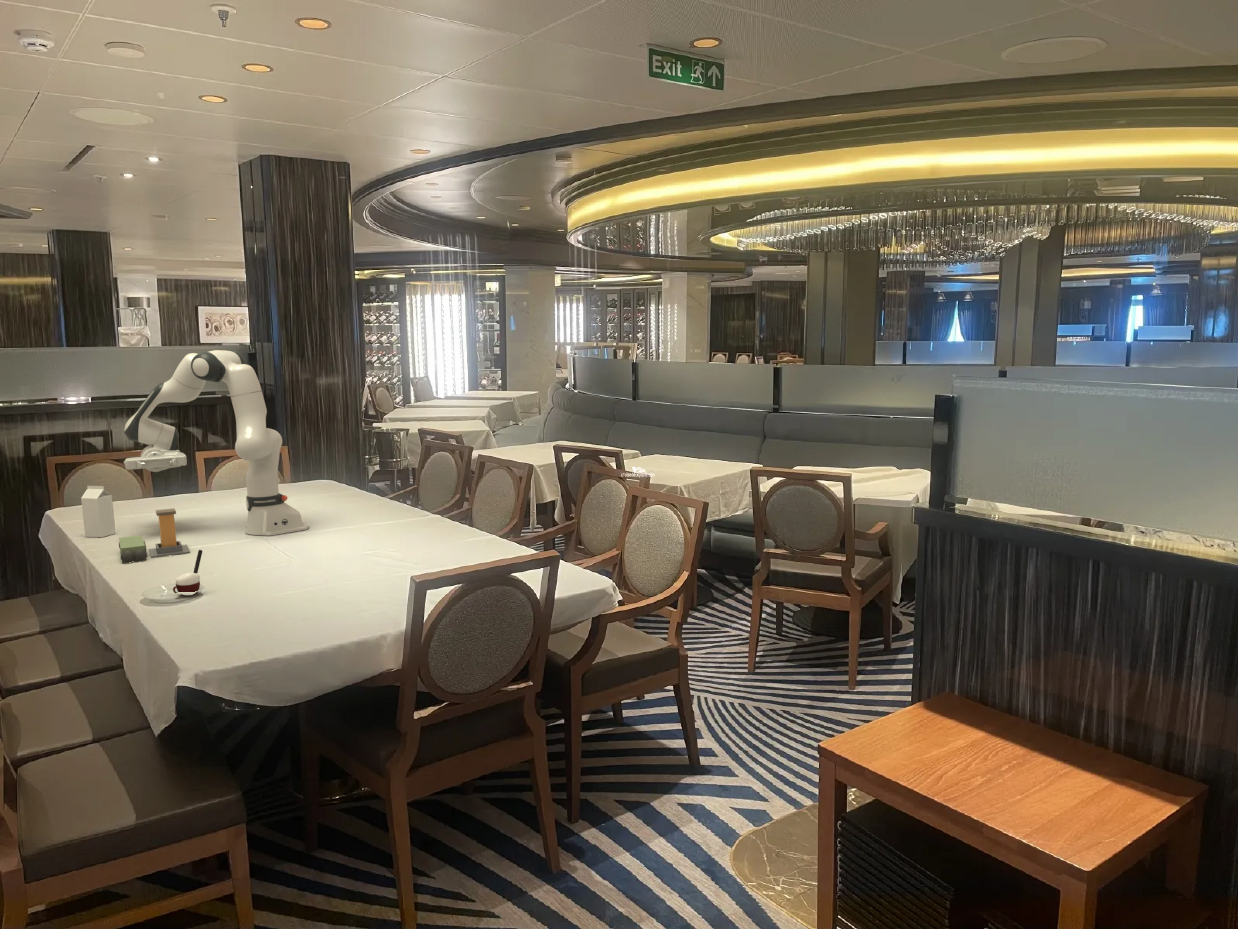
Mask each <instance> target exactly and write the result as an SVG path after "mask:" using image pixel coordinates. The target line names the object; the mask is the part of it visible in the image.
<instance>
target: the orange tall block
mask: <svg viewBox="0 0 1238 929" xmlns="http://www.w3.org/2000/svg"><path fill="white" fill-rule="evenodd" d="M155 514H156V516H157V517H158V525H159V526H158V527H159V537H160V543H161V548H162V547H170V546H177V543H176V541H177V533H176V523H175V522H176V521H175V515H176V514H177V511H176V509H175V508H173V507H172V508H164V509H156V510H155Z"/></svg>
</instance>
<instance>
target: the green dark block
mask: <svg viewBox="0 0 1238 929" xmlns="http://www.w3.org/2000/svg"><path fill="white" fill-rule="evenodd" d="M118 541H119V542H118V547H119V551H120V561H121V564H130V563H129V562H131V563H133V562H132V561H135V562H138V561H141V562H144V561H146V560H147V557H148V553H147V545H146V541H145V540H144V538H143V535H142V534H141V535H140V534H139V535H131V536H122V537H119V538H118ZM123 562H124V563H123Z"/></svg>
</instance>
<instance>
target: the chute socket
mask: <svg viewBox="0 0 1238 929" xmlns="http://www.w3.org/2000/svg"><path fill="white" fill-rule="evenodd" d="M176 543H177V546H170V547H162V548H161V542H160V543H155V547H154V548H149V549H148V553H149V556H151V557H150V559H156V558H163V556H164V557H169V555H172V556H178V555H187V554H191V550H190V548H189V546H188V544H182V542H181V540H178V541H177V540H176ZM155 557H156V558H155Z"/></svg>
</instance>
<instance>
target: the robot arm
mask: <svg viewBox="0 0 1238 929" xmlns="http://www.w3.org/2000/svg"><path fill="white" fill-rule="evenodd" d="M221 381H222V382H224V383H225V384H226V386H227V388H228V391H229V395H230V396H229V397H230V400H231V403H232V407H233V411H234V416H235V423H236V428H235V429H236V441H235V445H234V450H235V453H236V455H237V456H238V457H239V458H240V459H242V460H244V461H248V462H249V463H248V469H247V472H246V474H245V480H246V483H245V484H246V491H247V493H246V496H245V497H246V500H245V502H246V510H247V524H246V529H245V534H247V535H250V536H251V535H252V536H268V537H269V536H276V535H282V534H289V533H293V532H300V531H306V530H308V529H309V523H307V522H305V521H303V519H302V516H301V513H300V511H298V510H297V509H296V508H294V507H293V506H291V505H290V504H288V503H286V501H287V500H288V496H287V495H285V494H283V493H280V492H279V478H278V477H279V476H278V474H279V473H278V472H279V471H278V470H279V462H280V453H281V448H282V446H283V438H282V435H281V433H279V431H277V430H275V429H272V428H269V427H268V428H267V422H266V421H267V419H266V418H267V413H268V410H267V409H268V408H267V407H266V406H267V405H266V402H265V398H264V394H263V391H262V386H261V384H260V381H259V379H258V376H257V374H256V371H255V369H254V368H253V367H252V366H251V365H250V364H247V363H246V359H245V357H244V356H243V354H242V353H241V352H239V351H237V350H232V349H226V350H222V349H221V350H219V349H216V350H215V349H214V350H209V351H202V352H200V353H199V352H198V353H196V352H192V353H191V352H190V353H187V354H186V355H185V356H184V357H183V358H182V360H181V361H180V362H179V364H178V365H177V367H176V369H175V371H174V373H173V374H172V376H171V377H170V379H168V380H166V381H165V382H160V383H157V385H156V386H155V387H154V388H153V389H152V391H151V392H150V393H149V394H148V395H147V397H146V398H145V399H144V401H143V402H142V403H141V404H140V406H139V408H138V409H137V410H136V411H135V413H134V414H133V415H132V416H131V417H130V418H129V419H128V420H127V421H126V422H125V426H124V430H123V433H124V435H125V436H126V438H127V439H128V440H129V441H133V442H136V443H141V444H144V445H147V446H146V447H144V448H143V449H142V451H141V453H140V456H134V457H127V458H125V460H124V461H123V465H124V466H125V470H127V471H128V470H141V469H142V470H143V469H146V470H147V471H149V472H152V473H153V472H154V473H158V472H161V471H164V470H168V469H173V468H179V467H180V468H181V467H182V466H187V465H188V463H187V462H188V460H187V459H188V458H187V455H186V454H185V453H184V452H181V451H180V450H179V449H177V446H178V443H179V439H180V433H179V431H178V429H177V428H176V427H175V426H172V425H170V424H167V423H164V422H163V423H162V422H160V421H156V420H154V419H151V418H149V416H150V415H151V414H152V412H153V411H154V409H155V408H156V407H157V406H158V405H159V404H162V403H163V404H164V403H181V404H182V403H189V402H192V401H194V400H196V399H197V398H198V397H199V396H200V394H201V392H202V391H203V389H204V387H205V385H206V382H214V383H220V382H221Z"/></svg>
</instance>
